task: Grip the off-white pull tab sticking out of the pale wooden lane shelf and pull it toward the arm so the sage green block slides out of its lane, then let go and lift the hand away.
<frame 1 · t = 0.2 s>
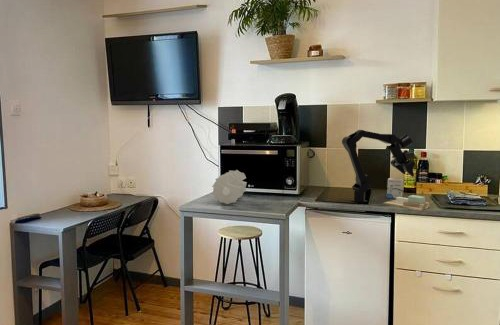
hand: (408, 175, 230), 15 cm above the worktop, tool tilted 30°, fingers open, 9 cm apart
ink box: (394, 198, 237), on the worktop
sage block: (409, 199, 214), point 4 cm above the worktop, slide at 0.0 cm
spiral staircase: (230, 201, 233), on the worktop
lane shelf: (408, 206, 214), on the worktop
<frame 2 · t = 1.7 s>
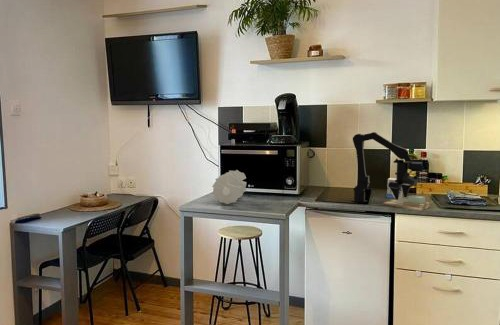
hand: (401, 198, 217), 4 cm above the worktop, tool pointing down, fingers open, 9 cm apart
nothing on the worktop moved.
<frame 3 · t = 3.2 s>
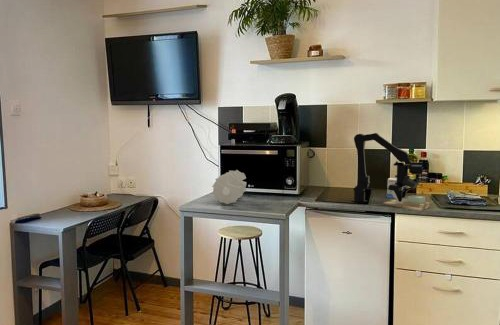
hand: (401, 201, 218), 2 cm above the worktop, tool pointing down, fingers closed on sage block, 2 cm apart
sage block: (409, 199, 214), point 4 cm above the worktop, slide at 0.0 cm, touching gripper
everything else where it was.
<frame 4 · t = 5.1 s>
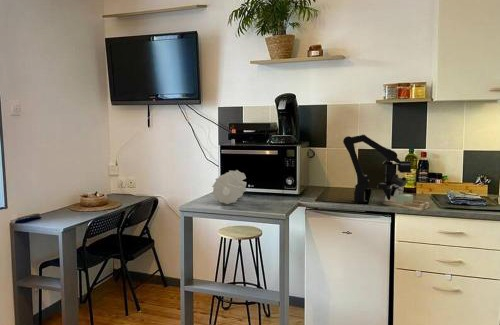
hand: (390, 199, 223), 2 cm above the worktop, tool pointing down, fingers closed on sage block, 2 cm apart
sage block: (398, 198, 219), point 4 cm above the worktop, slide at 6.8 cm, touching gripper
everything else where it was.
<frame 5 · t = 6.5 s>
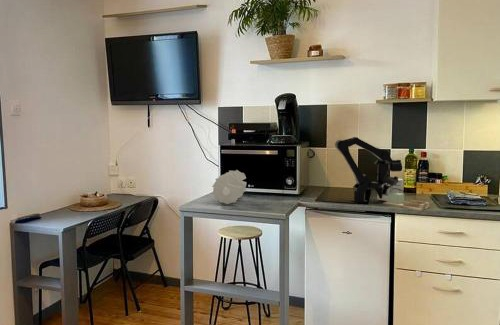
hand: (382, 198, 227), 2 cm above the worktop, tool pointing down, fingers closed on sage block, 2 cm apart
sage block: (389, 196, 223), point 4 cm above the worktop, slide at 11.9 cm, touching gripper
everything else where it was.
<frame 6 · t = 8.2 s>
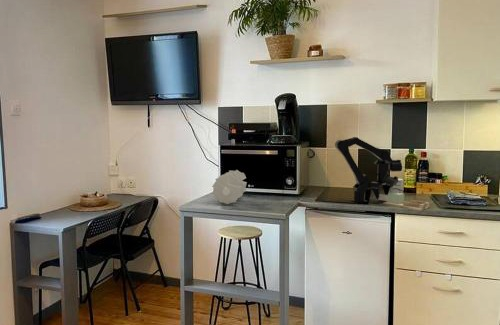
hand: (382, 198, 227), 2 cm above the worktop, tool pointing down, fingers open, 9 cm apart
sage block: (389, 196, 223), point 4 cm above the worktop, slide at 12.0 cm
everything else where it was.
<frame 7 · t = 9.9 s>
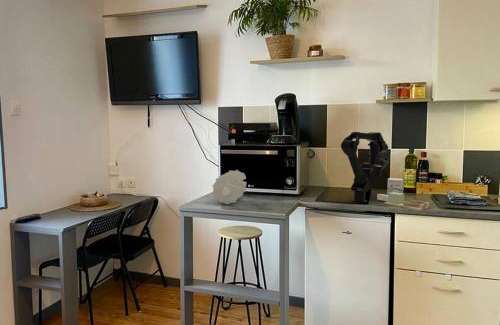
hand: (373, 178, 234), 12 cm above the worktop, tool pointing down, fingers open, 9 cm apart
nothing on the worktop moved.
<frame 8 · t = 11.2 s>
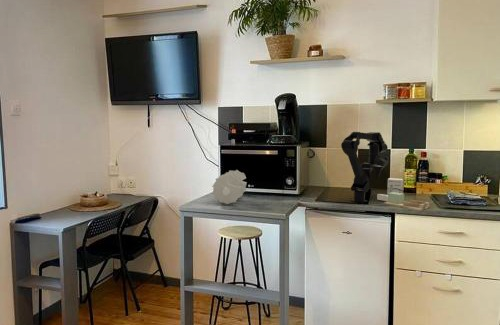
hand: (373, 178, 235), 12 cm above the worktop, tool pointing down, fingers open, 9 cm apart
nothing on the worktop moved.
at the end: sage block slide at 12.0 cm; the gripper is holding nothing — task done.
